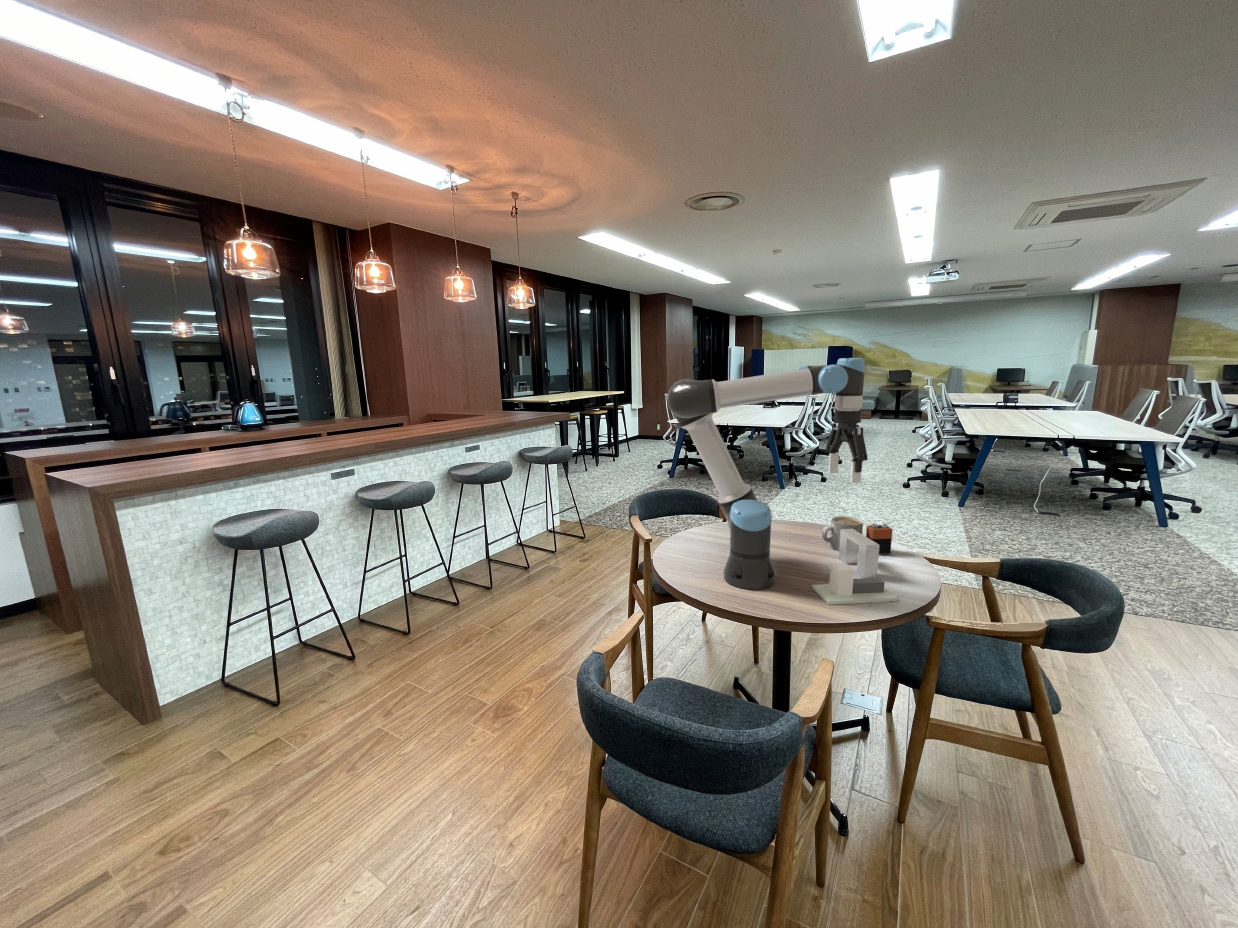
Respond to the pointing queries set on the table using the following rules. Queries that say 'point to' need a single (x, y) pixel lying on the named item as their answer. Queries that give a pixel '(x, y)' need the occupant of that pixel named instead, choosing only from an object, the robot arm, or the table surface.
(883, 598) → the mat
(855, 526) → the coffee mug
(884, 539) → the battery
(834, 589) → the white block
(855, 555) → the grey arch block
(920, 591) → the table surface
